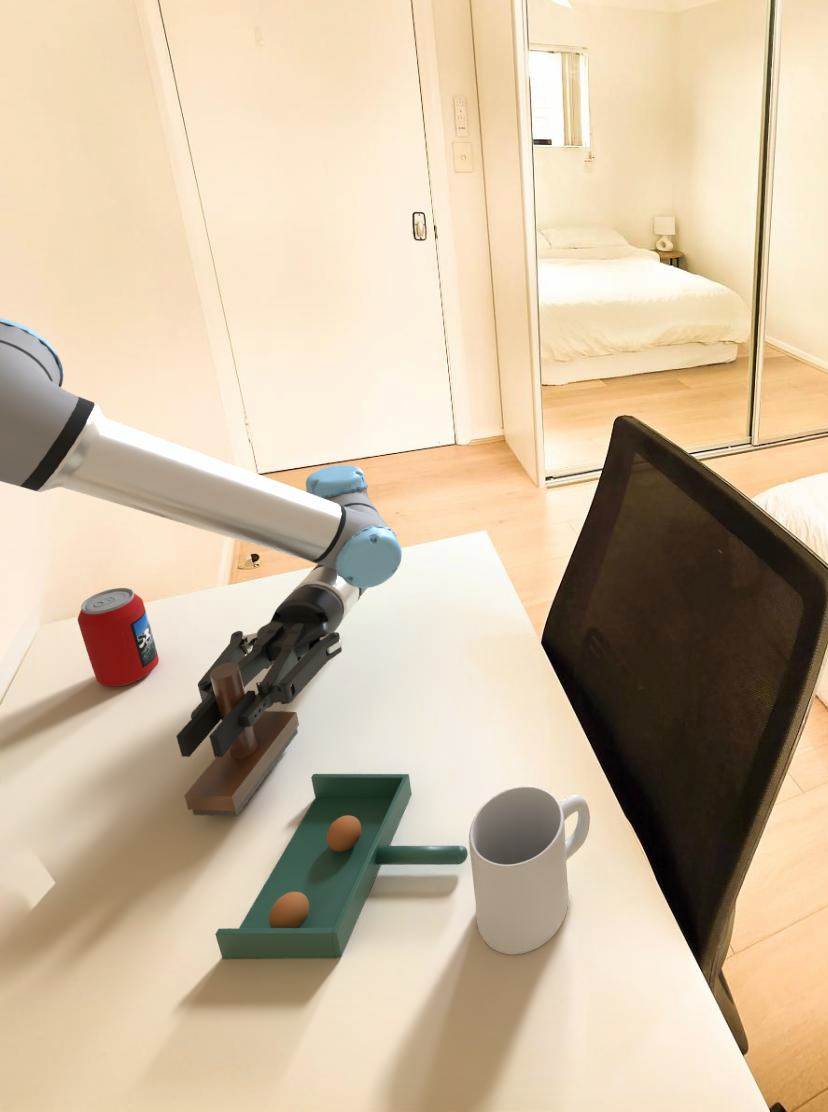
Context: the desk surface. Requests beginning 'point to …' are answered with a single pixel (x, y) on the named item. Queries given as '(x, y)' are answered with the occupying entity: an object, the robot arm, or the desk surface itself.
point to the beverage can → (117, 637)
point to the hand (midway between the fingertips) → (199, 746)
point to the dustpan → (332, 869)
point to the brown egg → (289, 911)
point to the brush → (239, 752)
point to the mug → (523, 865)
